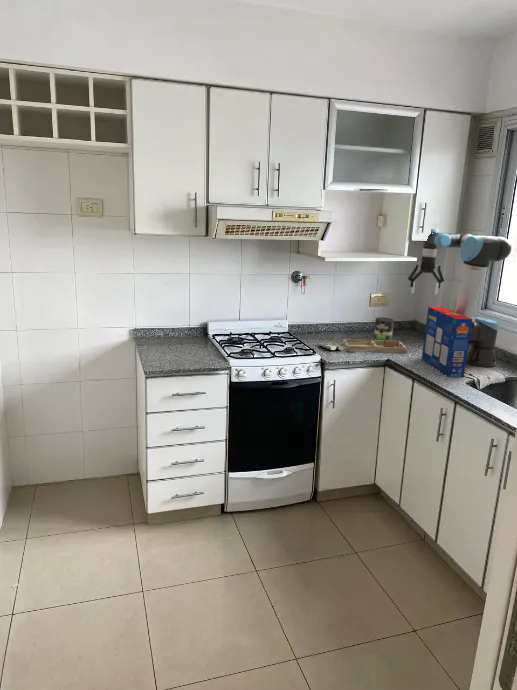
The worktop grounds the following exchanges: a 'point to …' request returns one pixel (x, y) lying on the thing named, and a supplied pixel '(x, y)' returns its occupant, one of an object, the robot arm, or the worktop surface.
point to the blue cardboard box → (446, 341)
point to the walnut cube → (388, 343)
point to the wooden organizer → (372, 346)
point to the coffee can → (383, 329)
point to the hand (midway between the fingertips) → (424, 293)
